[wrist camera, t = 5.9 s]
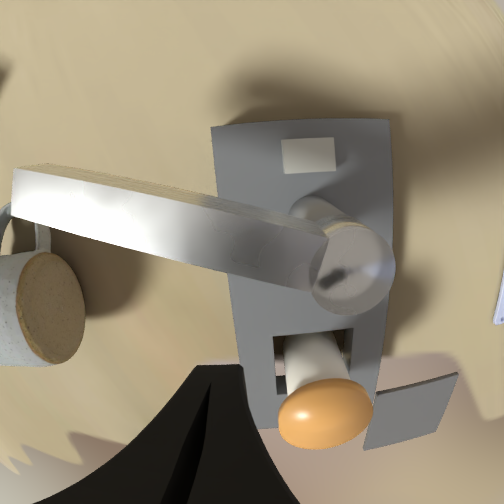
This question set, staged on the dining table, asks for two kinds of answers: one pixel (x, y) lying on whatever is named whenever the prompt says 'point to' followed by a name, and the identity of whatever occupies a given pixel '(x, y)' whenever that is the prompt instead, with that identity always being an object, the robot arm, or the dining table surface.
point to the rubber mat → (408, 411)
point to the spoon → (213, 233)
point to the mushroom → (320, 394)
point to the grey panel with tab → (310, 208)
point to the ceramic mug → (38, 304)
